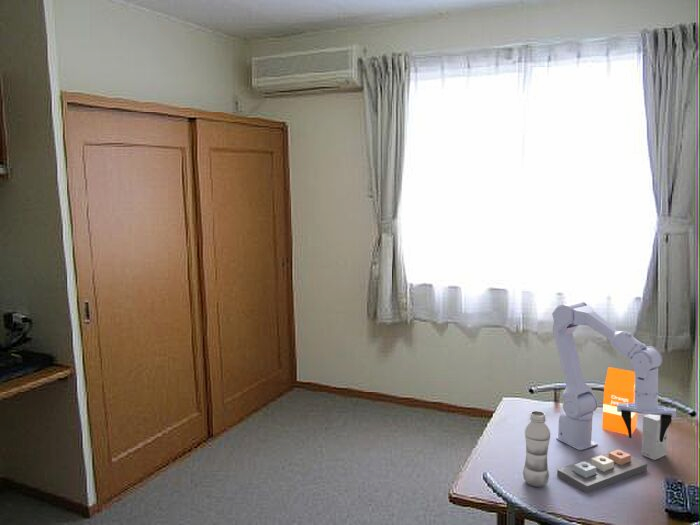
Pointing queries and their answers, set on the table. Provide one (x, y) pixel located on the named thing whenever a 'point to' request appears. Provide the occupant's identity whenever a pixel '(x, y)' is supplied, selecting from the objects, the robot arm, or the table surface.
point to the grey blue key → (584, 469)
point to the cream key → (602, 463)
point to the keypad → (601, 474)
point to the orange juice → (618, 399)
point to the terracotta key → (619, 457)
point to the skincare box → (652, 437)
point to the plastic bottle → (536, 450)
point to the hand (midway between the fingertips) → (645, 438)
